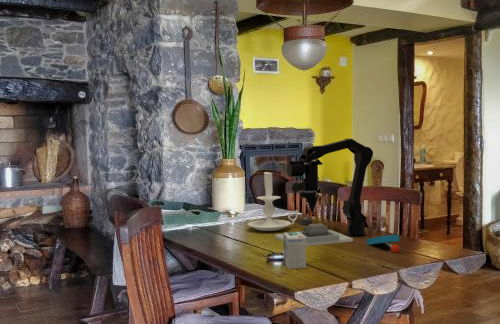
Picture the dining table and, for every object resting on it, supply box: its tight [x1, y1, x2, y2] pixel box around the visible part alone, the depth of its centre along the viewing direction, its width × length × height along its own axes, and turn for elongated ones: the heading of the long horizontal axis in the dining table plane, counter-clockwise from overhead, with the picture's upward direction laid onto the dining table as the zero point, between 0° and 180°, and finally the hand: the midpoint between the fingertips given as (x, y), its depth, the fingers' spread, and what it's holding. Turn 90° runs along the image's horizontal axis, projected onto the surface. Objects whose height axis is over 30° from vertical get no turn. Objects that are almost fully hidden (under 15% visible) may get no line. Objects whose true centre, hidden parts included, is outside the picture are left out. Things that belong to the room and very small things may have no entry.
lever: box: [366, 234, 401, 254], centre depth 217 cm, size 7×7×18 cm
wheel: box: [298, 217, 313, 226], centre depth 244 cm, size 6×6×3 cm
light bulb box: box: [282, 231, 307, 270], centre depth 195 cm, size 11×7×11 cm, turn 5°
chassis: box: [274, 228, 354, 247], centre depth 237 cm, size 27×22×3 cm
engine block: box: [304, 222, 329, 237], centre depth 233 cm, size 8×5×6 cm, turn 107°
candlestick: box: [247, 171, 299, 232], centre depth 261 cm, size 21×25×28 cm
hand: (312, 211), depth 237 cm, fingers closed
